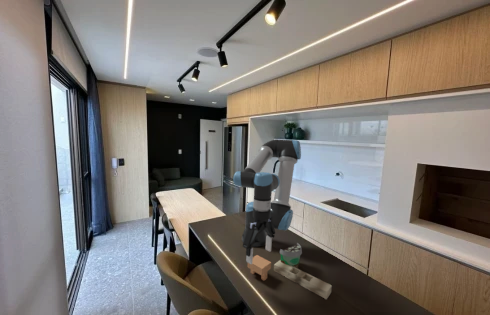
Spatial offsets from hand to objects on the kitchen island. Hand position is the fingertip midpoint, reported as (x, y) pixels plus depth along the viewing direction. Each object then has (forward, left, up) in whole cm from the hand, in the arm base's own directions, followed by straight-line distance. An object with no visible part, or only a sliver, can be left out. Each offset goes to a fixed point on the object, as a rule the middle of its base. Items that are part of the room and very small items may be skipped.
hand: (259, 256), depth 88 cm
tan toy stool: (0, 0, -9) cm, 9 cm away
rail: (+15, +10, -9) cm, 20 cm away
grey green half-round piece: (+8, +16, -10) cm, 21 cm away
